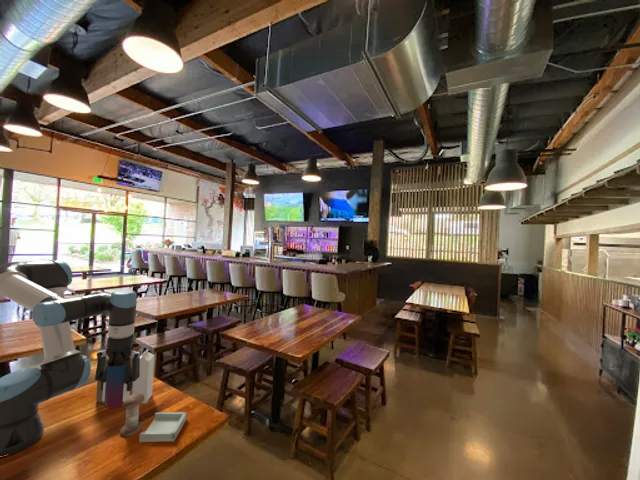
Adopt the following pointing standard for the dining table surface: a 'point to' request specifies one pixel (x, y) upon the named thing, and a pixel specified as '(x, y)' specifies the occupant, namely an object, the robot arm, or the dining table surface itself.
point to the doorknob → (132, 415)
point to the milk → (145, 376)
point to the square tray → (164, 427)
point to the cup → (115, 384)
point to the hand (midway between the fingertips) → (115, 398)
